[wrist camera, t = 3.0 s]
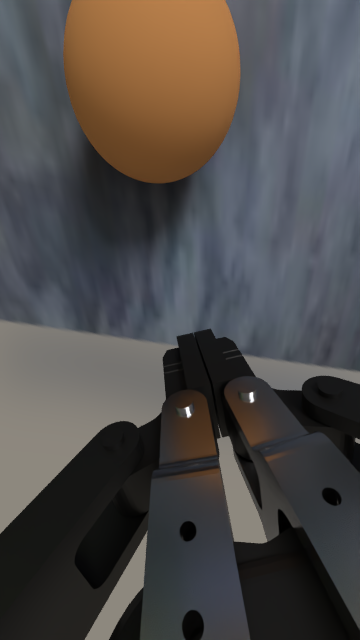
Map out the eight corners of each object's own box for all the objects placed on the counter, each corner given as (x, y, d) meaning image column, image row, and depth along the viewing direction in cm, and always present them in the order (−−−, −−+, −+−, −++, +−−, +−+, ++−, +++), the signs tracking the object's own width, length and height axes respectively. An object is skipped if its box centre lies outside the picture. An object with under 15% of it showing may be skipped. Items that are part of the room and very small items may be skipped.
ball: (207, 12, 10) (263, -195, 5) (225, 173, 12) (275, 150, 7) (67, 44, 10) (-26, -128, 5) (112, 199, 12) (82, 195, 7)
